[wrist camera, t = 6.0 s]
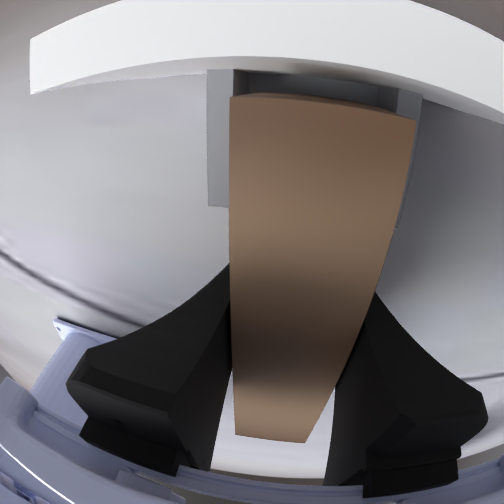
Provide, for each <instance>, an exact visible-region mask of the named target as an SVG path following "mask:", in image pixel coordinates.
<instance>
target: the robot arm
mask: <svg viewBox="0 0 504 504" xmlns="http://www.w3.org/2000/svg"><path fill="white" fill-rule="evenodd" d="M53 324H54V326H55V328H56V329H57V331H58V333H59V335H60V337H61V338H62V340H63V342H62V344H61V345H60V346H59V348H58V349H57V351H56V352H55V354H54V355H53V356H52V358H51V359H50V361H49V362H48V364H47V365H46V367H45V368H44V370H43V371H42V373H41V374H40V376H39V377H38V379H37V380H36V382H35V384H34V385H33V387H32V388H31V390H30V392H29V391H28V390H26V389H25V388H24V387H22V386H21V385H19V384H18V383H16V382H15V381H14V380H12V379H11V378H9V377H6V378H5V379H4V381H3V382H2V384H1V385H0V504H185V502H186V500H185V498H183V497H181V496H179V495H177V494H175V493H173V492H172V491H171V489H170V488H168V487H166V486H163V485H160V484H158V483H155V482H153V481H151V480H148V479H146V478H143V477H141V476H139V475H137V474H140V475H142V476H146V477H148V478H151V479H154V480H157V481H160V482H163V483H166V484H169V485H172V486H176V487H179V488H182V489H186V490H190V491H194V492H197V493H202V494H206V495H210V496H215V497H219V498H224V499H230V500H235V501H241V502H247V503H254V504H394V503H396V504H504V454H503V455H502V456H501V457H500V458H498V459H495V460H492V461H489V462H486V463H483V464H480V465H477V466H473V467H470V468H466V469H463V470H459V471H458V467H457V459H458V458H460V457H461V455H462V454H461V448H460V447H461V446H462V445H463V444H465V443H466V442H467V441H469V440H470V439H471V438H473V437H474V436H475V435H476V434H478V433H479V432H480V431H481V430H482V429H483V428H484V426H485V425H486V423H487V422H488V414H487V410H486V407H485V403H484V399H483V396H482V393H481V392H479V391H478V390H476V389H475V388H473V387H472V386H470V385H469V384H467V383H465V382H464V381H462V380H461V379H459V378H458V377H457V376H455V375H454V374H453V373H451V372H450V371H449V370H447V369H446V368H445V367H444V366H442V365H441V364H440V363H439V362H437V361H436V360H435V359H434V358H433V357H432V356H431V355H430V354H429V353H427V352H426V351H425V350H424V349H423V348H422V347H421V346H420V345H419V344H418V343H417V342H416V341H415V340H414V339H413V338H412V337H411V336H410V335H409V334H408V333H407V332H406V330H405V329H404V328H403V327H402V326H401V325H400V324H399V322H398V321H397V320H396V319H395V317H394V316H393V315H392V314H391V313H390V311H389V310H388V309H387V307H386V306H385V305H384V303H383V302H382V301H381V299H380V298H379V297H378V295H377V294H376V292H374V294H373V297H372V300H371V303H370V305H369V308H368V311H367V313H366V316H365V319H364V321H363V324H362V326H361V329H360V331H359V334H358V336H357V339H356V341H355V343H354V346H353V348H352V350H351V353H350V355H349V357H348V359H347V362H346V364H345V366H344V368H343V371H342V373H341V375H340V377H339V379H338V381H337V383H336V385H335V402H334V415H333V425H332V434H331V442H330V449H329V456H328V461H327V467H326V472H325V477H324V482H323V486H309V485H292V484H280V483H271V482H263V481H255V480H248V479H242V478H236V477H231V476H225V475H221V474H215V473H211V472H208V471H210V467H211V461H212V456H213V451H214V446H215V441H216V436H217V432H218V427H219V422H220V417H221V413H222V408H223V404H224V399H225V395H226V391H227V387H228V382H229V378H230V374H231V371H232V341H231V306H230V263H229V264H228V265H227V266H226V267H225V268H224V269H223V270H222V271H221V272H220V273H219V274H218V275H217V276H216V277H215V278H214V279H212V280H211V281H210V282H209V283H208V284H207V285H206V286H205V287H204V288H202V289H201V290H200V291H199V292H198V293H196V294H195V295H194V296H193V297H191V298H190V299H189V300H188V301H186V302H185V303H184V304H182V305H181V306H179V307H178V308H176V309H175V310H173V311H172V312H170V313H169V314H167V315H165V316H164V317H162V318H160V319H158V320H156V321H155V322H153V323H151V324H149V325H147V326H145V327H143V328H141V329H139V330H137V331H135V332H133V333H130V334H128V335H126V336H123V337H121V338H118V339H117V338H113V337H110V336H107V335H103V334H100V333H97V332H94V331H91V330H88V329H85V328H82V327H79V326H76V325H73V324H70V323H67V322H65V321H62V320H59V319H54V321H53ZM136 473H137V474H136Z"/></svg>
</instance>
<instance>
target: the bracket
mask: <svg viewBox="0 0 504 504" xmlns="http://www.w3.org/2000/svg"><path fill="white" fill-rule="evenodd" d="M198 74H207V175H208V206H217V207H229V103H230V97H232V96H238V95H245V94H252V93H260V92H283V93H296V94H306V95H315V96H324V97H331V98H338V99H345V100H351V101H357V102H362V103H365V104H369V105H372V106H375V107H378V108H381V109H384V110H388V111H391V112H393V113H396V114H399V115H402V116H405V117H408V118H410V119H413V120H416V128H415V135H414V141H413V147H412V153H411V158H410V163H409V168H408V173H407V178H406V183H405V187H404V192H403V196H402V200H401V204H400V209H399V212H398V216H397V220H396V224H395V227H396V228H398V224H399V221H400V217H401V213H402V209H403V205H404V201H405V197H406V193H407V188H408V184H409V179H410V174H411V170H412V165H413V159H414V154H415V148H416V143H417V136H418V130H419V123H420V116H421V108H422V99H425V100H428V101H431V102H435V103H438V104H441V105H444V106H447V107H450V108H453V109H456V110H459V111H461V112H465V113H469V114H472V115H476V116H479V117H482V118H485V119H488V120H491V121H494V122H497V123H500V124H503V125H504V42H503V41H502V40H500V39H498V38H496V37H495V36H493V35H491V34H489V33H487V32H485V31H483V30H481V29H479V28H477V27H475V26H473V25H471V24H469V23H467V22H465V21H463V20H460V19H458V18H456V17H453V16H451V15H449V14H446V13H444V12H441V11H439V10H436V9H433V8H431V7H428V6H425V5H422V4H419V3H416V2H413V1H410V0H122V1H119V2H116V3H113V4H110V5H107V6H104V7H101V8H98V9H95V10H93V11H90V12H88V13H85V14H83V15H80V16H78V17H75V18H73V19H71V20H68V21H66V22H64V23H62V24H60V25H57V26H55V27H53V28H51V29H49V30H47V31H45V32H43V33H41V34H40V35H38V36H36V37H34V38H32V39H31V40H30V94H31V95H32V94H36V93H41V92H45V91H50V90H55V89H60V88H66V87H71V86H78V85H84V84H91V83H99V82H108V81H118V80H130V79H148V78H163V77H172V76H184V75H198Z"/></svg>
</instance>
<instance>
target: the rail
mask: <svg viewBox="0 0 504 504" xmlns="http://www.w3.org/2000/svg"><path fill="white" fill-rule="evenodd" d="M415 128H416V120H413V119H410V118H408V117H405V116H402V115H399V114H396V113H393V112H391V111H388V110H384V109H381V108H378V107H375V106H372V105H369V104H365V103H362V102H357V101H351V100H345V99H338V98H331V97H324V96H315V95H306V94H296V93H283V92H260V93H252V94H245V95H238V96H232V97H230V103H229V256H230V306H231V341H232V369H233V394H234V416H235V435H241V436H247V437H253V438H260V439H267V440H275V441H285V442H295V443H305V442H306V440H307V438H308V437H309V435H310V433H311V431H312V430H313V428H314V426H315V424H316V422H317V421H318V419H319V417H320V415H321V413H322V411H323V409H324V407H325V405H326V403H327V401H328V400H329V398H330V396H331V394H332V392H333V389H334V387H335V385H336V383H337V381H338V379H339V377H340V375H341V373H342V371H343V368H344V366H345V364H346V362H347V359H348V357H349V355H350V353H351V350H352V348H353V346H354V343H355V341H356V339H357V336H358V334H359V331H360V329H361V326H362V324H363V321H364V319H365V316H366V313H367V311H368V308H369V305H370V303H371V300H372V297H373V294H374V292H375V289H376V286H377V283H378V280H379V277H380V274H381V271H382V268H383V265H384V262H385V258H386V255H387V252H388V249H389V245H390V242H391V238H392V235H393V231H394V228H395V224H396V220H397V216H398V212H399V209H400V204H401V200H402V196H403V192H404V187H405V183H406V178H407V173H408V168H409V163H410V158H411V153H412V147H413V141H414V135H415Z"/></svg>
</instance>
